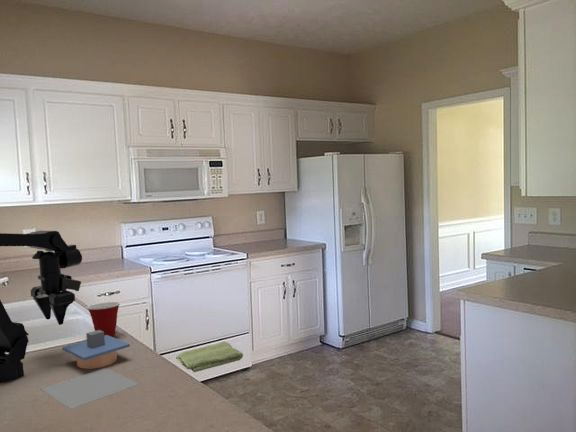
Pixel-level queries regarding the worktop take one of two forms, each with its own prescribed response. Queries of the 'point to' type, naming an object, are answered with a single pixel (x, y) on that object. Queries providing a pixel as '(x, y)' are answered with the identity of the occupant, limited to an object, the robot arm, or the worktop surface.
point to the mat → (88, 387)
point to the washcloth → (209, 356)
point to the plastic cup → (104, 317)
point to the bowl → (97, 361)
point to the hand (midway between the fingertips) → (54, 321)
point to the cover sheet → (95, 351)
